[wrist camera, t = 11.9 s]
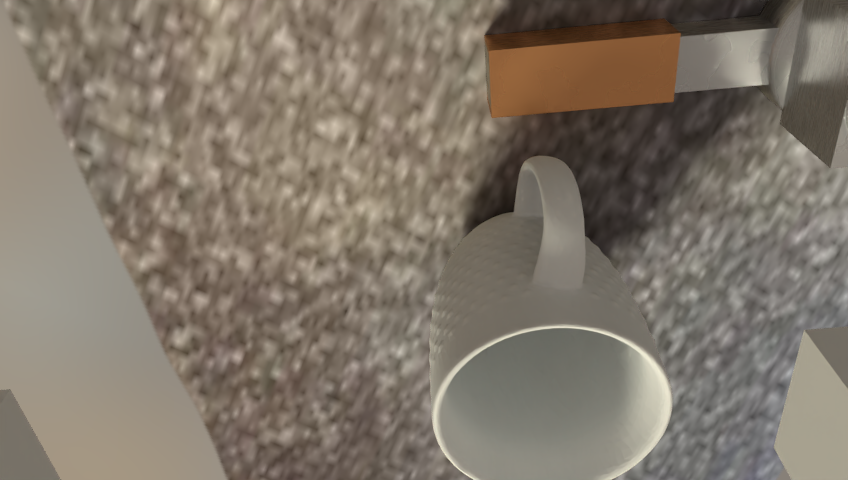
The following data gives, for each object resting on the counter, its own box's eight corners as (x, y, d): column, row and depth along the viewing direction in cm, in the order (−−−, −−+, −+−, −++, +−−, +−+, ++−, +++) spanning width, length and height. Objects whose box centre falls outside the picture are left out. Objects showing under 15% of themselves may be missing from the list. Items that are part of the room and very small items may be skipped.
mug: (432, 111, 37) (438, 240, 26) (635, 115, 37) (726, 246, 26) (424, 327, 45) (426, 496, 34) (592, 330, 45) (648, 499, 34)
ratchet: (482, -12, 34) (493, 20, 29) (933, -55, 33) (1028, -30, 28) (488, 139, 38) (500, 190, 33) (889, 104, 37) (963, 151, 32)
